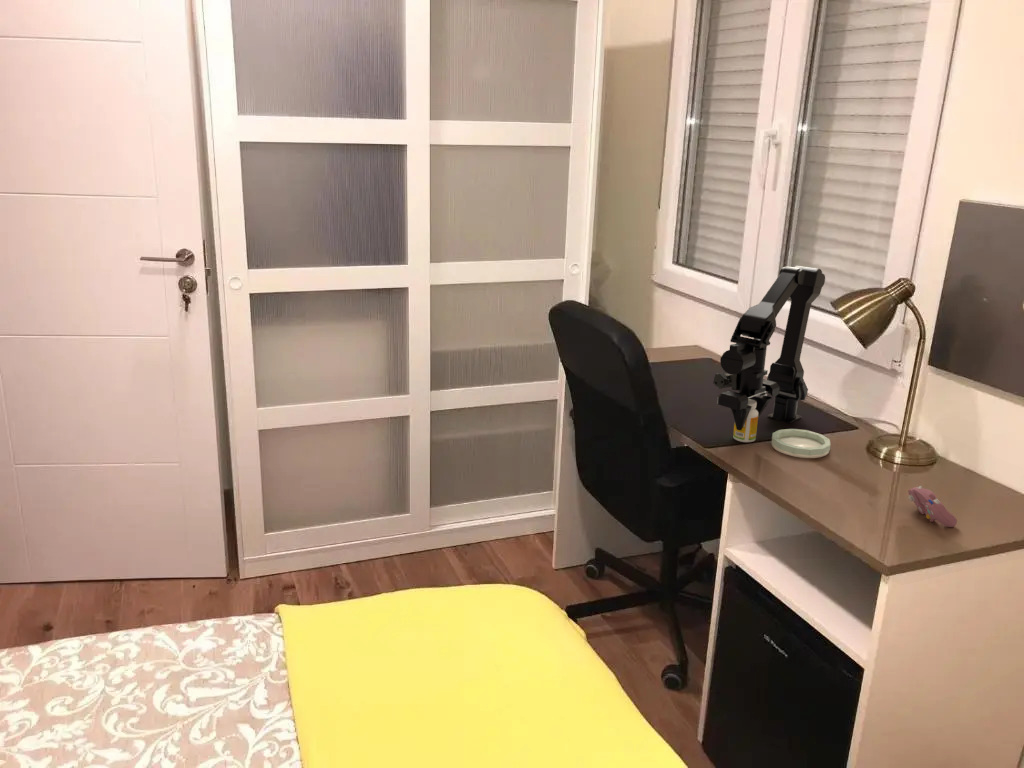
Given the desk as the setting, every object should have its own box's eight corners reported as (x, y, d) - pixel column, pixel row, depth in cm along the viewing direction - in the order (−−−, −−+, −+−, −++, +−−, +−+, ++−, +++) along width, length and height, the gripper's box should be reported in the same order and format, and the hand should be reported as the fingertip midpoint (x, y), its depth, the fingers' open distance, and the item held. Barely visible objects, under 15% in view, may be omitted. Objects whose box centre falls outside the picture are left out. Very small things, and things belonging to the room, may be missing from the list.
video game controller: (910, 513, 168) (900, 485, 166) (931, 503, 167) (922, 475, 165) (938, 536, 158) (927, 507, 156) (960, 526, 158) (950, 497, 156)
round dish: (788, 433, 205) (789, 425, 204) (838, 448, 196) (840, 439, 196) (761, 446, 197) (762, 438, 196) (812, 462, 188) (813, 453, 187)
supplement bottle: (753, 435, 204) (757, 398, 201) (757, 443, 199) (761, 405, 196) (731, 434, 204) (735, 397, 201) (734, 442, 199) (738, 404, 196)
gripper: (743, 351, 207) (737, 410, 212) (700, 365, 195) (695, 427, 200) (783, 361, 200) (776, 421, 205) (742, 376, 187) (735, 440, 192)
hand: (745, 427), depth 200 cm, fingers closed on supplement bottle, 5 cm apart
